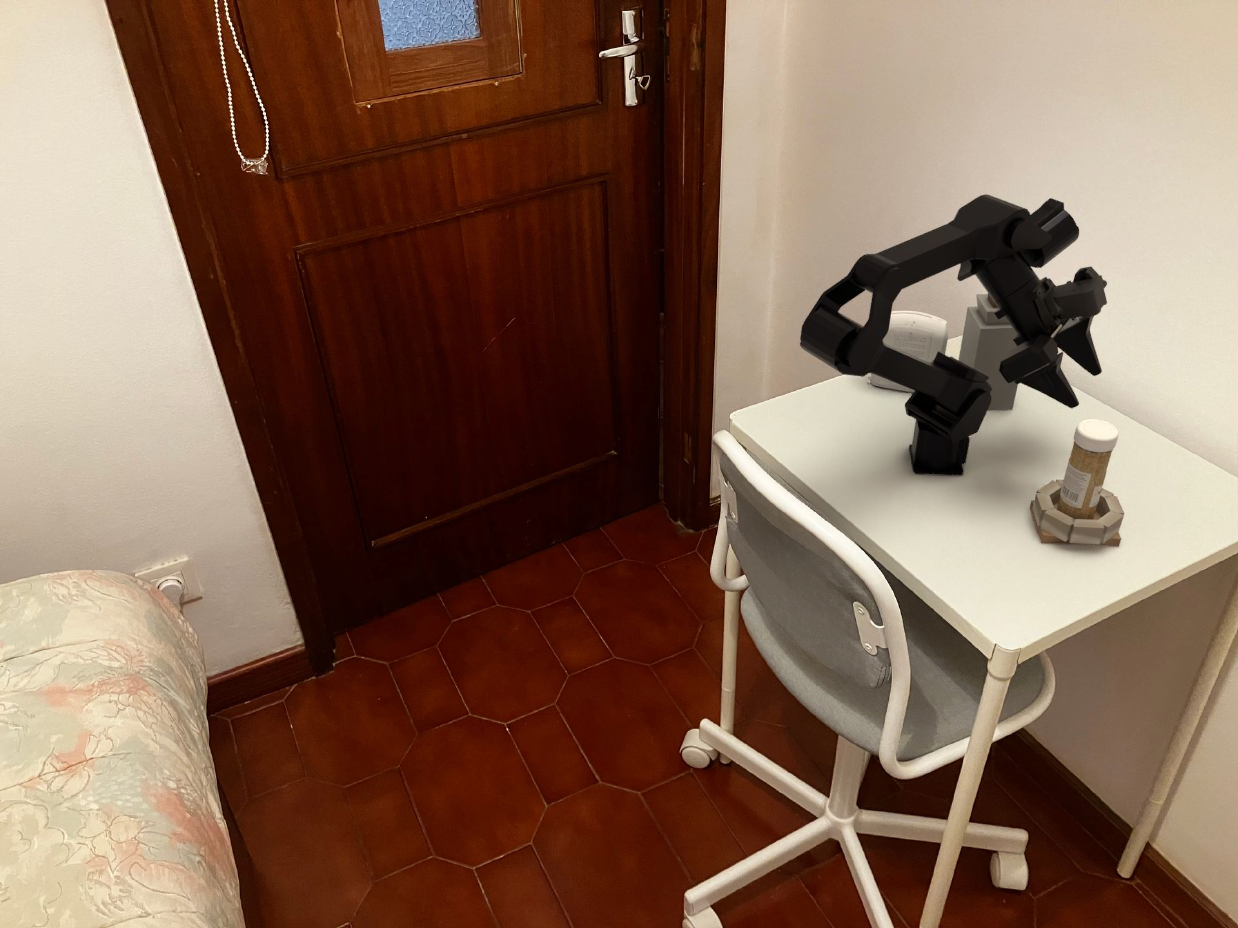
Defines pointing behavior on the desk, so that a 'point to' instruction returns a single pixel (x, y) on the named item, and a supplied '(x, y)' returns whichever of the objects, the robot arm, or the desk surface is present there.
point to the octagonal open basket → (1076, 531)
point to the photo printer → (914, 339)
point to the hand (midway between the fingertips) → (1087, 390)
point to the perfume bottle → (989, 349)
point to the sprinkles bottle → (1087, 468)
